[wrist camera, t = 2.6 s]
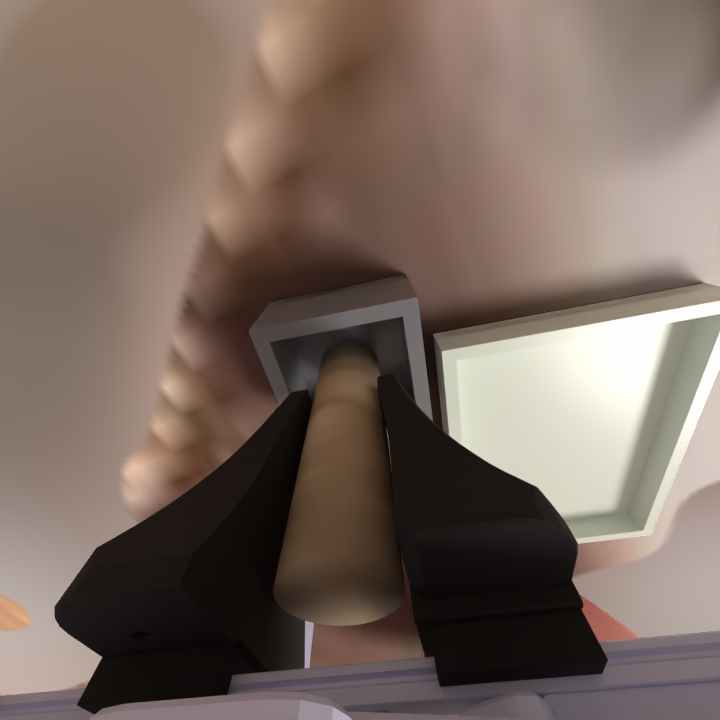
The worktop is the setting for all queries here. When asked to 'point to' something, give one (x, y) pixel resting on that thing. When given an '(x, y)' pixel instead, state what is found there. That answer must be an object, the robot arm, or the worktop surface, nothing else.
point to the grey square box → (344, 335)
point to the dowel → (343, 502)
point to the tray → (587, 401)
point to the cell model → (601, 624)
